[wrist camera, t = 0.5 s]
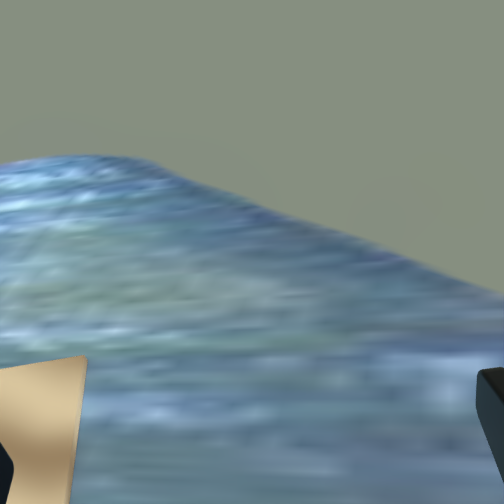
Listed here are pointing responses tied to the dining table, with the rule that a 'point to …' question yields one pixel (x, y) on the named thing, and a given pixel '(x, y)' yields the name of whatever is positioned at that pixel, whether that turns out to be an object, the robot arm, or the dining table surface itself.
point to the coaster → (42, 427)
